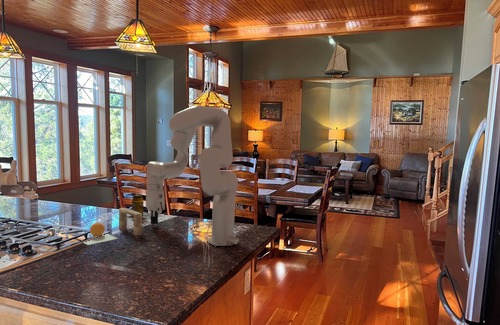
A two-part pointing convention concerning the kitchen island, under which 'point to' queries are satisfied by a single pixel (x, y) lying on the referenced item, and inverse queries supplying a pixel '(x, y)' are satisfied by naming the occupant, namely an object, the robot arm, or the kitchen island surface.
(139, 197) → the condiment
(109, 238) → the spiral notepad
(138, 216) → the bridge
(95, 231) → the ball
